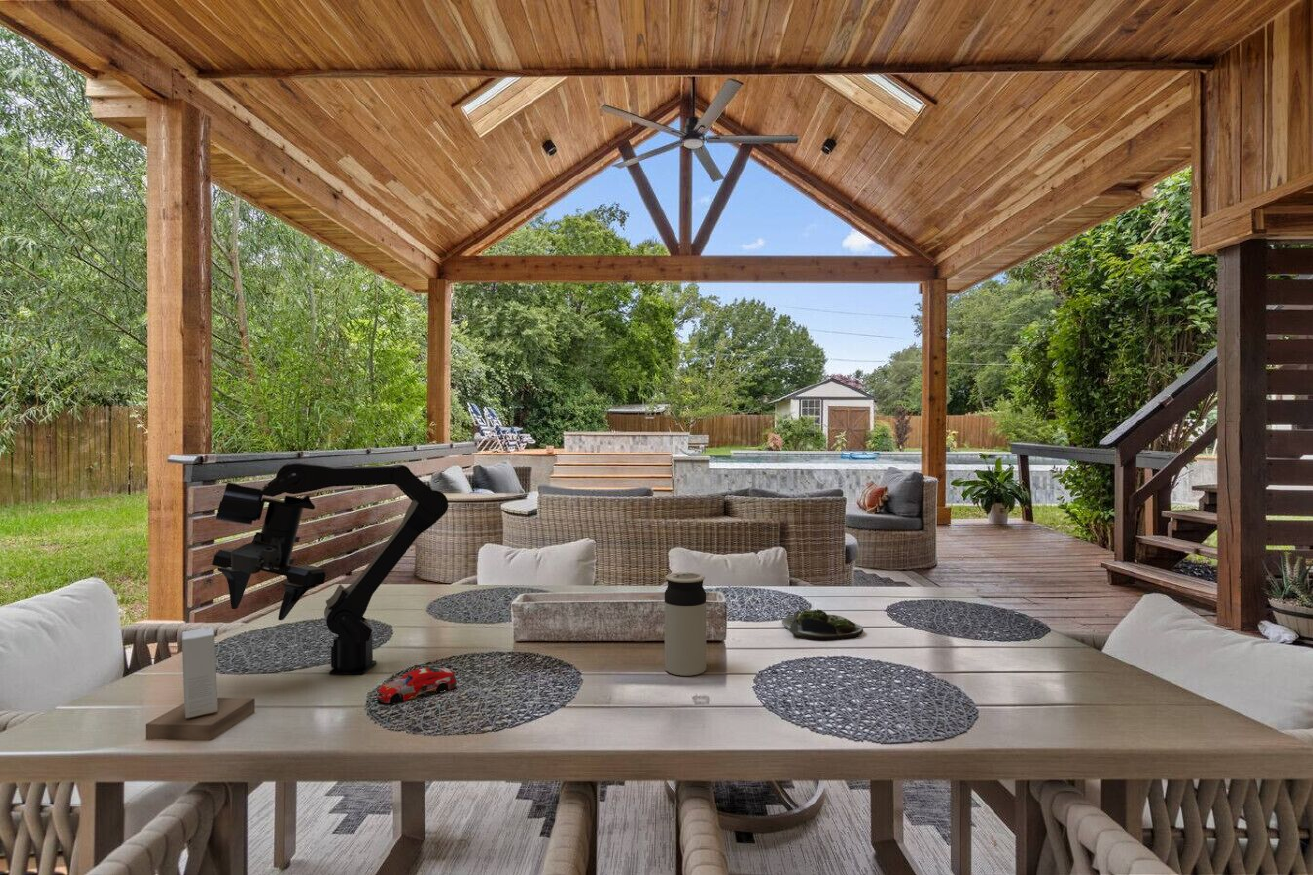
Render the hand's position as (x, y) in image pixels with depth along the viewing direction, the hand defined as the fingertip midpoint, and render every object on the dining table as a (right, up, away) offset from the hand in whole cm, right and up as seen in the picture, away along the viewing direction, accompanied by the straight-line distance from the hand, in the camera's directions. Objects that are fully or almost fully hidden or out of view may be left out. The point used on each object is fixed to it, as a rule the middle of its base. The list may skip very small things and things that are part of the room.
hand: (257, 614), depth 121 cm
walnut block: (+2, -13, -17) cm, 22 cm away
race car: (+30, -13, -4) cm, 33 cm away
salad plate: (+110, -13, +33) cm, 116 cm away
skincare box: (+2, -10, -17) cm, 20 cm away
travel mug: (+78, -13, +7) cm, 79 cm away
